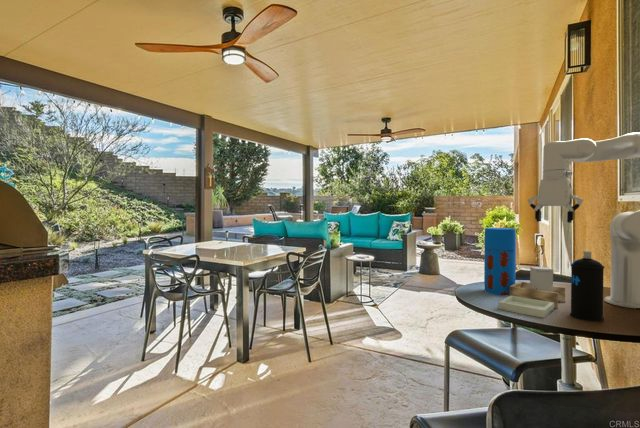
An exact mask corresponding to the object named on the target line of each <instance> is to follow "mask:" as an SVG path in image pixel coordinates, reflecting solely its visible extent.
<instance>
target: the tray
mask: <svg viewBox="0 0 640 428" xmlns="http://www.w3.org/2000/svg"><path fill="white" fill-rule="evenodd" d="M498 310H502V311H507V312H512V313H518V314H522V315H528V316H533V317H538V318H543V319H546V318H547V317H548V316H549V315H550V314H552V312H553V311H554V310H555V308H554V302H548V301H541V300H535V299H529V298H523V297H517V296H511V295H510V296H506V297H505V298H504V299H502V300H500V301H498Z"/></svg>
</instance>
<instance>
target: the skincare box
mask: <svg viewBox="0 0 640 428" xmlns="http://www.w3.org/2000/svg"><path fill="white" fill-rule="evenodd" d="M529 271H530V272H529V274H530V275H529V283H530V289H535V290H541V291H548V292H553V286H554V269H553V268H551V267H546V266H545V267H544V266H530V267H529Z"/></svg>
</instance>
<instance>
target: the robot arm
mask: <svg viewBox="0 0 640 428" xmlns="http://www.w3.org/2000/svg"><path fill="white" fill-rule="evenodd" d="M542 150H543V153H542V154H543V157H542V161H543V162H542V179H540V182H539V186H538V192H537V194H536V195H535V196H532V197H531V198H528V199H527V202H528V204H529V205H530V207H531V208H532V209H533V210H534V212H535V213H534V215H535V217H534V218H535V220H536V222H541V221H542V211H541V210H542V209H543V207H565V208H566V209H567V210H568V211H567V215H566V218H567V219H566V221H567V223H569V224H570V223H572V222H573V221H574V218H575V216H574V214H575V213H574V212H575V211H577V209H579V208H581V205H582V204H583V202H584V199H583V198H581V197H580V196H577V195H574V194H573V190H572V181H571V179H570V178H568V177H570V176H573V171H569V170H568V168H569V167H568V163H569V161H570V162H572V163H577V164H578V163H579V164H581V163H591V162H604V161H614V160H627V159H629V160H630V159H637V158H638V159H640V131H639V132H637V131H636V132H630V133H626V134H623V135H620V136H617V137H612V138H609V139H603V140H596V141H594V140H592V139H590V138H583V137H582V138H577V139H571V140H566V141H565V140H564V141H563V140H562V141H561V140H556V141H549V142H546V143H545V144H544V145H543V149H542ZM536 200H537V205H536V204H535V203H534V202H535V201H536ZM573 200H575V201H576V203H575V204H574V205H573V206H572V203H573ZM609 235H610V236H609V237H610V254H611V255H610V295H609V296H605V297H604V301H605V302H606V303H608V304H609V305H613V306H618V307H623V308H630V309H636V308H640V209H639V210H636V211H625V212H621V213H618V214H616V215H615V216H614V217H613V218H612V219H611V221H610V223H609Z"/></svg>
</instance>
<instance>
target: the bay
mask: <svg viewBox="0 0 640 428" xmlns="http://www.w3.org/2000/svg"><path fill="white" fill-rule="evenodd" d="M510 295H511V296H517V297H523V298H529V299H535V300H541V301H548V302H554V309H559V302H562V303H565V302H566V287H565V286H559V285H558V286H557V285H553V292H548V291H541V290H535V289H530V281H529V282H528V281H520V280H519V281H517V282H515V284H513V285H511V286H509V296H510ZM509 296H508V297H509Z"/></svg>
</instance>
